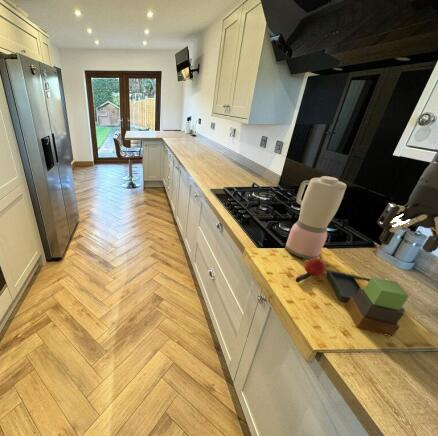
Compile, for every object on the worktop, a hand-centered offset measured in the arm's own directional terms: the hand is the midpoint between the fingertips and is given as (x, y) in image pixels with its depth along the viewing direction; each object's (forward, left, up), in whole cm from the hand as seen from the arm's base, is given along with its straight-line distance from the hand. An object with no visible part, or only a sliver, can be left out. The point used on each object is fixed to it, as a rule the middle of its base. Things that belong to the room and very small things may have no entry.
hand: (404, 247), depth 59 cm
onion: (+10, -15, -24) cm, 30 cm away
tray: (-3, -11, -24) cm, 26 cm away
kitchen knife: (+10, -15, -23) cm, 29 cm away
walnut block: (0, +2, -24) cm, 24 cm away
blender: (+11, -32, -24) cm, 41 cm away
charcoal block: (0, +2, -20) cm, 20 cm away
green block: (0, +2, -16) cm, 16 cm away
